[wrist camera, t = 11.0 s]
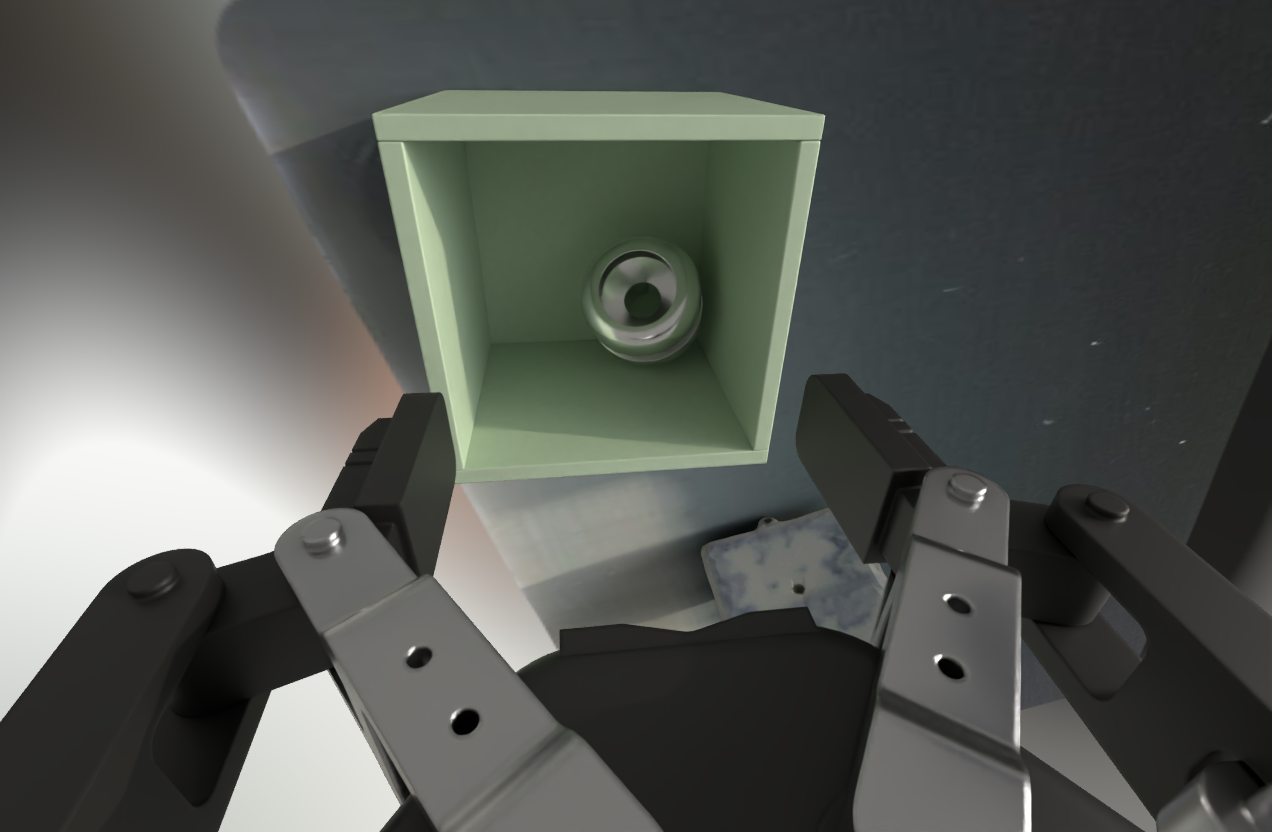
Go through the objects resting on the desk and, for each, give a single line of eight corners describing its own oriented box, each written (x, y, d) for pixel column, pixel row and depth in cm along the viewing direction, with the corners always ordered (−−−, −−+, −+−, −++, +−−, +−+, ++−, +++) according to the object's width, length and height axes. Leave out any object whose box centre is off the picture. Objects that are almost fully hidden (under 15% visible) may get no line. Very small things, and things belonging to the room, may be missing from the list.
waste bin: (444, 90, 22) (370, 113, 13) (721, 92, 24) (826, 114, 15) (482, 348, 28) (449, 484, 19) (701, 338, 30) (766, 463, 21)
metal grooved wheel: (572, 306, 26) (638, 389, 25) (552, 283, 23) (626, 375, 22) (657, 236, 26) (727, 317, 25) (647, 203, 23) (726, 293, 22)
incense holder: (718, 609, 42) (761, 756, 33) (693, 532, 37) (736, 679, 28) (848, 572, 41) (927, 711, 32) (839, 489, 37) (928, 625, 28)
